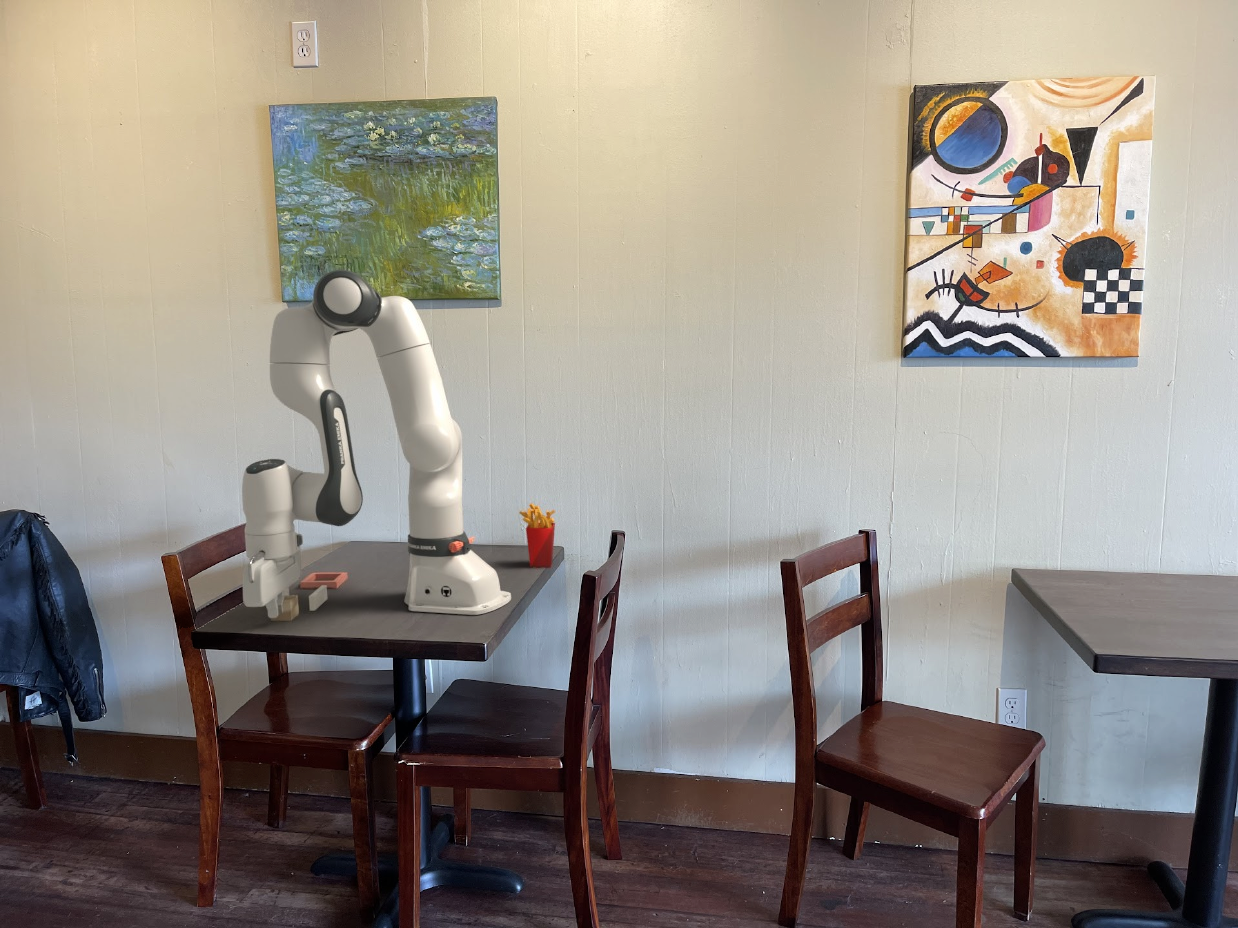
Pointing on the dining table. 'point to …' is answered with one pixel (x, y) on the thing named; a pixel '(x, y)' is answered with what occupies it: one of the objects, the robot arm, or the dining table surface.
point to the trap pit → (323, 580)
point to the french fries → (539, 536)
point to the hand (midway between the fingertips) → (275, 615)
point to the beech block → (288, 608)
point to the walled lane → (315, 597)
